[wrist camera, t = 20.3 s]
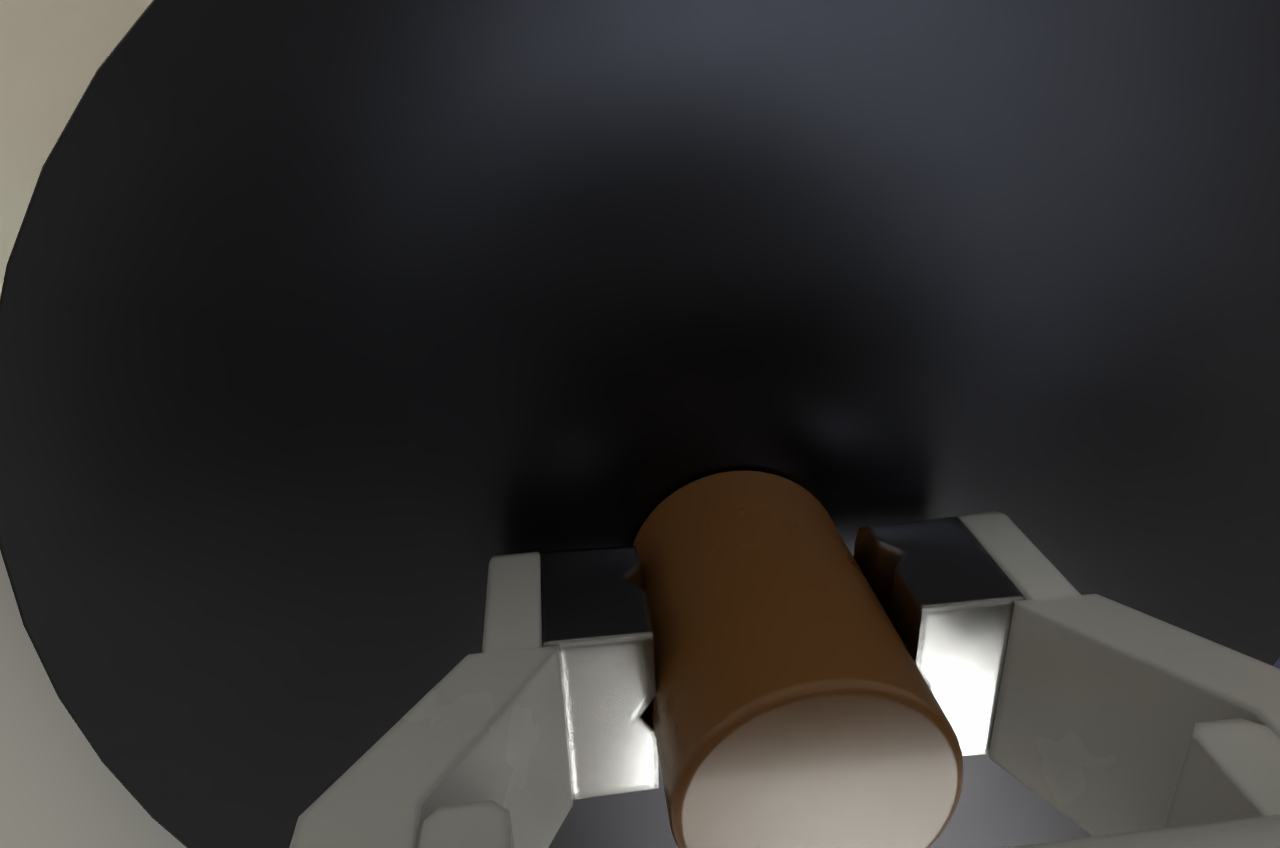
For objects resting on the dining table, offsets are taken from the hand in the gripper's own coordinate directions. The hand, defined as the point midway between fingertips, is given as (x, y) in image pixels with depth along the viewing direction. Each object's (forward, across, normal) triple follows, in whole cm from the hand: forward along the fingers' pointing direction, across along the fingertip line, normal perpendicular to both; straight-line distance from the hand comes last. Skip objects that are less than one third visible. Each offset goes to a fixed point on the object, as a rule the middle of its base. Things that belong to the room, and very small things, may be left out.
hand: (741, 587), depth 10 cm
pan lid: (+1, 0, 0) cm, 1 cm away
